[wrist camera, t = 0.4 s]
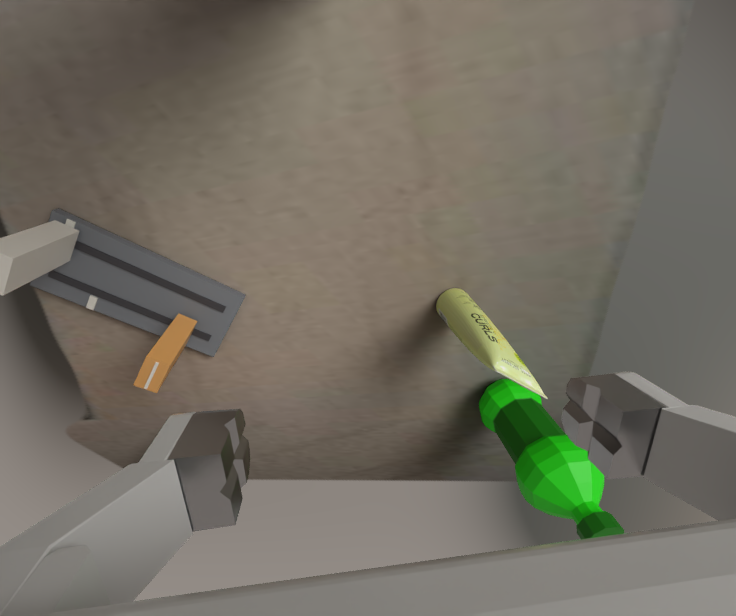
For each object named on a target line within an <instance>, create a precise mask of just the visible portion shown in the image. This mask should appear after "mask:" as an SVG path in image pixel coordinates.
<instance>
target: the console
mask: <svg viewBox="0 0 736 616" xmlns="http://www.w3.org/2000/svg"><path fill="white" fill-rule="evenodd" d="M54 220H56V221H59V222H61V223H63V224H65V225H67V226H70V227H72V228H74V229H76V230H78V231H79V234H78V237H77V240H76V243H75V246H74V249H73V252H72V255H71V258H70V261H69V262H67V263H65V264H63V265H61V266H59V267H57V268H55V269H53V270H52V271H50V272H48V273H46V274H44V275H42V276H40V277H38V278H36V279H34V280H32V281H31V282H30V285H31V286H33V287H36V288H38V289H41V290H43V291H46V292H48V293H51V294H54V295H56V296H59V297H61V298H64V299H66V300H69V301H71V302H74V303H77V304H79V305H82V306H84V307H86V308H88V309H91V310H94V311H97V312H100V313H102V314H105V315H107V316H110V317H112V318H115V319H117V320H120V321H123V322H125V323H128V324H130V325H133V326H135V327H138V328H141V329H143V330H146V331H148V332H151V333H153V334H156V335H158V336H162V335H163V333H164V332H165V331H166V329H167V328H168V327H169V325H170V324H171V323H172V321H173V320H174V319H175V318H176V316H177V315H178V314H182V315H184V316H186V317H189V318H191V319H194V320H196V321H197V323H196V325H195V328H194V330H193V332H192V334H191V336H190V338H189V340H188V342H187V344H186V346H187V347H189V348H192V349H194V350H197V351H199V352H202V353H204V354H207V355H210V356H212V357H214V355H215V353H216V351H217V349H218V348H219V346H220V344H221V342H222V340H223V338H224V336H225V334H226V332H227V330H228V328H229V327H230V325H231V323H232V321H233V319H234V317H235V315H236V313H237V311H238V309H239V307H240V306H241V304H242V302H243V300H244V298H245V294H243V293H241V292H239V291H237V290H234V289H232V288H230V287H228V286H226V285H224V284H221V283H219V282H217V281H215V280H213V279H211V278H208V277H206V276H204V275H202V274H200V273H198V272H195V271H193V270H191V269H189V268H187V267H185V266H182V265H180V264H178V263H176V262H174V261H172V260H169V259H167V258H165V257H163V256H161V255H159V254H156V253H154V252H152V251H150V250H148V249H146V248H144V247H141V246H139V245H137V244H135V243H133V242H131V241H128V240H126V239H124V238H122V237H120V236H118V235H115V234H113V233H111V232H109V231H107V230H105V229H102V228H100V227H98V226H96V225H94V224H92V223H89V222H87V221H85V220H83V219H81V218H79V217H76V216H74V215H72V214H70V213H68V212H66V211H63V210H61V209H59V208H58V209H55V210H52V212H51V215H50V219H49V222H51V221H54Z"/></svg>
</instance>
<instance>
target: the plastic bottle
mask: <svg viewBox="0 0 736 616" xmlns="http://www.w3.org/2000/svg"><path fill="white" fill-rule="evenodd" d="M479 409H480V414H481V419H482V422H483V423H484V425H485V426H486V427H487V428H489V429H490V430H492V431H493V432H495V433H497V435H498V436H499V438H500V440H501V441H502V443H503V445H504V446H505V448H506V449H507V451H508V453H509V454H510V456H511V458H512V459H513V461H514V462H515V464H516V465H515V470H516V476H517V482H518V485H519V488H520V491H521V493H522V495H523V496H524V498H525V500H526V501H527V502H528V503H530V504H531V505H532V506H533V507H534V508H536V509H538V510H541V511H543V512H545V513H547V514H549V515H553V516H557V517H562V518H569V519H574V521H575V522H576V523H577V534H578V535H579V537H580V538H581V539H587V538H594V537H602V536H609V535H617V534H624V530H623V528H622V527H621V526H620V524H619V523H618V522H617V521H616V519H615V518H614V517H613V516H612V515H611V514H610V513H608V512H606V511H602V509H601V508H600V507H599V506H598V505H599V503H600V500H601V496H602V492H603V488H604V475H603V474H602V473H601V472H600V471H599V469H598V468H597V467H596V466H595V465H594V464H593V463H592V462H591V461H590V460H589V459H588V451H586V450H584V449H582V448H580V447H578V446H575V444H574V443H573V442H572V441H571V440H570V439H569V438H568V436H567V435H566V434H565V433H564V432H563V430H562V429H561V428H560V427H559V426H558V425H557V423H556V422H555V421H554V420H553V419H552V417H551V416H550V415H549V414H548V413H547V412H546V410H545V409H544V408H543V407H542V404H541V397H540V395H538V394H536V393H534V392H532V391H530V390H528V389H526V388H524V387H522V386H520V385H518V384H517V383H515V382H513V381H511V380H510V379H500V380H497V381H495V382H494V383H492V384H491V385H489V386H488V387H487V388H486V390H485V392H484V394H483V395H482V397H481V399H480V401H479Z"/></svg>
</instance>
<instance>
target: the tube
mask: <svg viewBox="0 0 736 616" xmlns="http://www.w3.org/2000/svg"><path fill="white" fill-rule="evenodd" d="M436 308H437V312H438V314H439V315H440V316H441V318H442V319H443V320H444V322H445V323H446V324H447V325H448V326H449V328H450V329H451V330H452V331H453V333H454V334H455V335H456V336H457V337H458V338H459V340H460V341H461V342H462V343H463V344H464V345H465V346H466V347H467V348H468V349H469V350H470V352H471V353H472V354H473V355H474V356H476V357H477V358H478V359H479V360H480V361H481V362H482V363H483V364H484V365H486V366H487V367H488V368H490V369H492V370H494V371H496V372H498V373H499V374H501V375H503V376H505V377H506V378H508V379H510V380H511V381H513V382H515V383H517V384H518V385H520V386H522V387H524V388H526V389H528V390H530V391H532V392H534V393H536V394H538V395H540V396H542V397H544V398H546V399H548V398H547V397H546V396H545V395H544V393H543V391H542V390H541V388H540V386H539V385H538V383H537V381H536V380H535V378H534V377H533V376H532V374H531V373H530V371H529V370H528V369H527V367H526V366H525V364H524V363H523V362H522V360H521V359H520V358H519V356H518V355H517V354H516V352H515V351H514V350H513V348H512V347H511V346H510V344H509V343H508V342H507V340H506V339H505V338H504V337H503V335H502V334H501V333H500V332H499V330H498V329H497V328H496V327H495V325H494V324H493V323H492V322H491V321H490V319H489V318H488V317H487V316H486V315H485V313H484V312H483V311H482V310H481V309H480V308H479V307H478V305H477V304H476V303H475V302H474V301H473V300H472V299H471V298H470V297H469V296H468V294H467V293H466V292H464V291H463V290H461V289H457V288H453V289H449V290H447V291H445V292H444V293H442V294H441V295H440V297H439V298H438V300H437V304H436Z"/></svg>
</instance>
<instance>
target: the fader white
mask: <svg viewBox="0 0 736 616" xmlns="http://www.w3.org/2000/svg"><path fill="white" fill-rule="evenodd" d="M78 234H79V231H78V230H76V229H74V228H72V227H70V226H67V225H65V224H63V223H61V222H59V221H56V220H54V221H51V222H48V223H45V224H42V225H39V226H36V227H33V228H30V229H27V230H24V231H21V232H18V233H15V234H12V235H9V236H6V237H3V238H0V295H2V296H3V295H5V294H7V293H9V292H11V291H13V290H15V289H17V288H19V287H21V286H22V285H25V284H27V283H28V282H30V281H32V280H34V279H36V278H38V277H40V276H42V275H44V274H46V273H48V272H50V271H52V270H53V269H55V268H57V267H59V266H61V265H63V264H65V263H67V262H69V261H70V258H71V255H72V252H73V249H74V246H75V243H76V240H77V237H78Z"/></svg>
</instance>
